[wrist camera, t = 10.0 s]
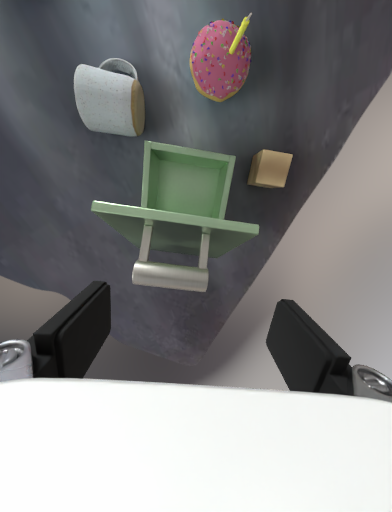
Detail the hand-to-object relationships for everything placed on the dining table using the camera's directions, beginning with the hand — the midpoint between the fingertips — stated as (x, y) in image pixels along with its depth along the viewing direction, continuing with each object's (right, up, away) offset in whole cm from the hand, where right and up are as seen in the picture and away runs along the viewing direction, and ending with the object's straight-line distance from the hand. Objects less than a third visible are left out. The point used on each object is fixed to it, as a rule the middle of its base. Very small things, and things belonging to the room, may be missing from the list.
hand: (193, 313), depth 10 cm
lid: (-2, +5, +12) cm, 13 cm away
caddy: (-2, +14, +26) cm, 29 cm away
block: (+13, +19, +25) cm, 34 cm away
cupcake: (+3, +32, +20) cm, 38 cm away
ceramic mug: (-13, +29, +21) cm, 38 cm away
